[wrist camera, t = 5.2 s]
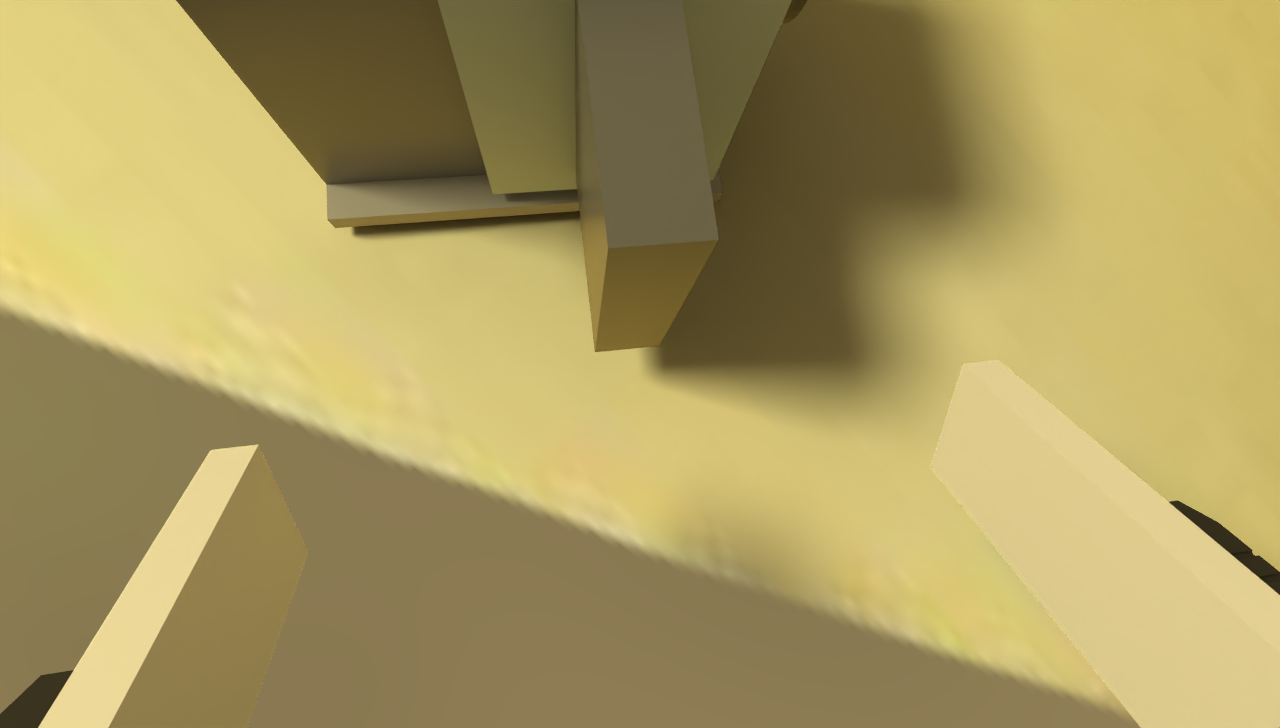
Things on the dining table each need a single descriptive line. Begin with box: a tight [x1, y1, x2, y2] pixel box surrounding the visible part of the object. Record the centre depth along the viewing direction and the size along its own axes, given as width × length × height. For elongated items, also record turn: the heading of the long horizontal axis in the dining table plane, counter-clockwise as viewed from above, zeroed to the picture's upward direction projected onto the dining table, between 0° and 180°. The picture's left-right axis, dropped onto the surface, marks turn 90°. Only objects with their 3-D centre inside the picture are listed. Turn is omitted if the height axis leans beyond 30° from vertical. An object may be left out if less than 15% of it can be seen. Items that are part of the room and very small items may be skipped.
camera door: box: [438, 0, 792, 352], centre depth 19 cm, size 9×8×12 cm
